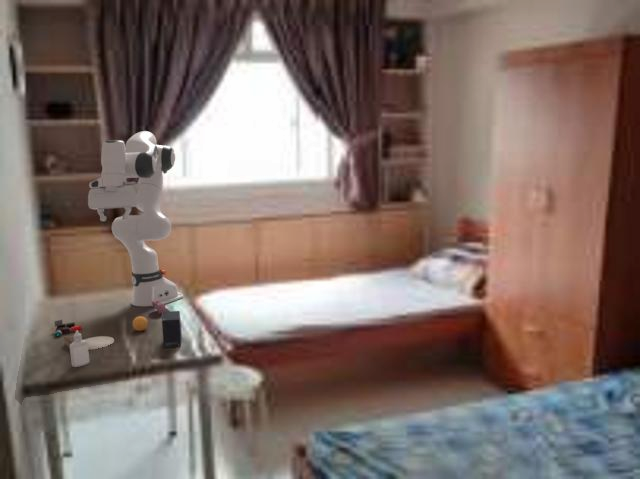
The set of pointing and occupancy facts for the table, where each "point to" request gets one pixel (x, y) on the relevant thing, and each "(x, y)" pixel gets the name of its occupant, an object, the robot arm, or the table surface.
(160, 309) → the video game controller
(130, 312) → the table surface
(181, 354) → the table surface
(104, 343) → the white flat disc
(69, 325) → the toy gun
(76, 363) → the eye dropper bottle
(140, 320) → the ball
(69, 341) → the rail
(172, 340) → the small box
